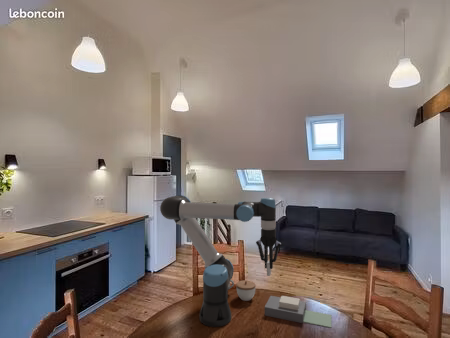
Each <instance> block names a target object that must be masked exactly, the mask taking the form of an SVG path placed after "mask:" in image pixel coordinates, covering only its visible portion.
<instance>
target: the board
mask: <svg viewBox="0 0 450 338" xmlns="http://www.w3.org/2000/svg"><path fill="white" fill-rule="evenodd" d="M280 299H281V296H275V295H270V296H269V297H268V300H267V302H266V303H265V305H264V316H266V317H272V318H275V319H281V320H286V321H289V322H290V321H291V322H295V323H300V324H304V322H303V320H304V316H305V311H306V310H307V302H306V301H304V300H300V306H299V309H298V310H294V309H289V308H284V307H279V301H280Z"/></svg>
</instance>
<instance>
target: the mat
mask: <svg viewBox="0 0 450 338" xmlns="http://www.w3.org/2000/svg"><path fill="white" fill-rule="evenodd" d="M303 323H305V324H311V325H315V326H320V327H324V328H331V329H332V314H328V313H323V312H318V311H312V310H307V309H306V311H305V316H304V320H303Z"/></svg>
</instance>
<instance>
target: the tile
mask: <svg viewBox="0 0 450 338" xmlns="http://www.w3.org/2000/svg"><path fill="white" fill-rule="evenodd" d="M280 297H281V299H280V301H279V307H284V308H289V309H294V310H298V309H299V306H300V301H301V298H298V297H292V296H286V295H281V296H280Z"/></svg>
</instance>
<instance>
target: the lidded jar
mask: <svg viewBox="0 0 450 338" xmlns="http://www.w3.org/2000/svg"><path fill="white" fill-rule="evenodd" d="M235 284H236V285H235V286H236V294H237V296H238V297H239V298H240V299H241V300H242V301H244V302H245V301H246V302H247V301H251V300H252V299H253V297H254V296H255V294H256V286H257V285H256V282H254V281H252V280H248V279H247V280H239V281H237V282H236V283H235Z"/></svg>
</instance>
